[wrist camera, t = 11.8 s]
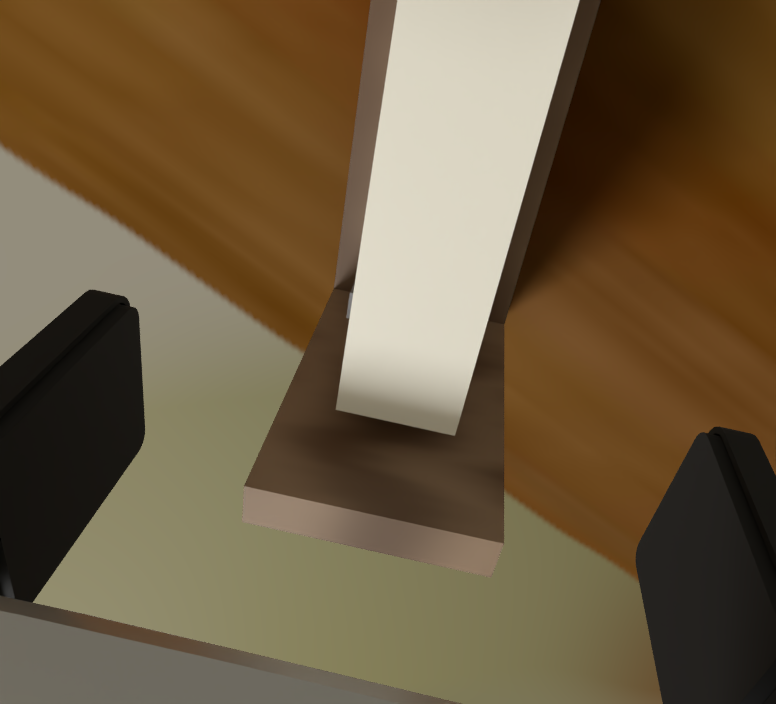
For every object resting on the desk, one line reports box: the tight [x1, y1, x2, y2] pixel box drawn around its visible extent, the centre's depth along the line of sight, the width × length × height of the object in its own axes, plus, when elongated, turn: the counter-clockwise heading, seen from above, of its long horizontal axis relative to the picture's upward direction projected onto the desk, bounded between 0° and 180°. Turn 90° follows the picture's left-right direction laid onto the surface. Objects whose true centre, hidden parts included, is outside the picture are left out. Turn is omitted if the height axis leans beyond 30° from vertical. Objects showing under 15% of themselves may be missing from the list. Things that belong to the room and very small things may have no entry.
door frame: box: [242, 0, 601, 577], centre depth 22 cm, size 8×20×16 cm, turn 171°
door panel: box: [336, 0, 580, 436], centre depth 23 cm, size 4×14×12 cm, turn 171°
